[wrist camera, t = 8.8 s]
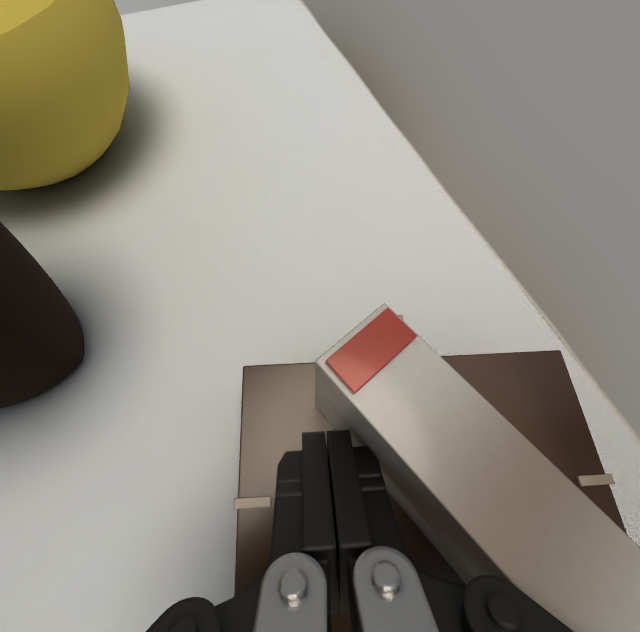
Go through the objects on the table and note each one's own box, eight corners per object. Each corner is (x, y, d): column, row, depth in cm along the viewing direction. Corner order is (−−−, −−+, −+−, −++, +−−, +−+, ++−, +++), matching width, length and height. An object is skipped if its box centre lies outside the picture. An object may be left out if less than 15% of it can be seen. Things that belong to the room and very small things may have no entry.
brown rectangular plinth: (505, 336, 20) (550, 308, 16) (604, 670, 14) (714, 750, 10) (255, 348, 19) (241, 322, 16) (247, 702, 13) (221, 800, 10)
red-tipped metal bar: (564, 596, 12) (894, 779, 5) (525, 654, 11) (846, 955, 4) (353, 368, 15) (386, 297, 8) (314, 404, 14) (314, 358, 8)
